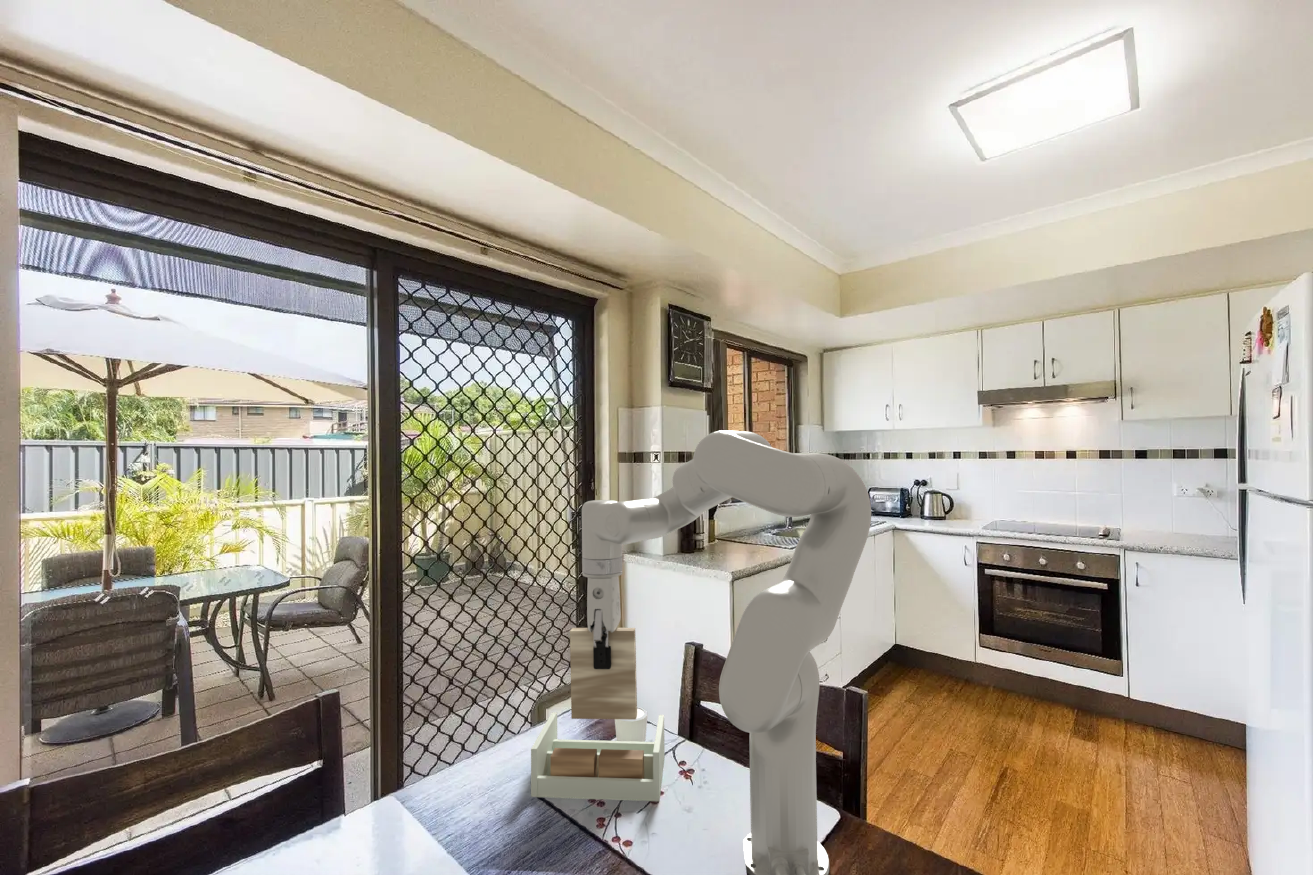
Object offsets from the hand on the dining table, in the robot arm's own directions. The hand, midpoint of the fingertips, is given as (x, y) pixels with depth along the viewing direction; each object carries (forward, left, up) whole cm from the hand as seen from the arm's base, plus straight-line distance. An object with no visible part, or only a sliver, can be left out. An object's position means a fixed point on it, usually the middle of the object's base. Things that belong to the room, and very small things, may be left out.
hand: (603, 665), depth 105 cm
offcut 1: (-6, +4, -19) cm, 20 cm away
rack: (-2, 0, -21) cm, 21 cm away
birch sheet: (0, 0, -9) cm, 9 cm away
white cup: (+11, -4, -21) cm, 24 cm away
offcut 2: (-6, -4, -19) cm, 20 cm away
